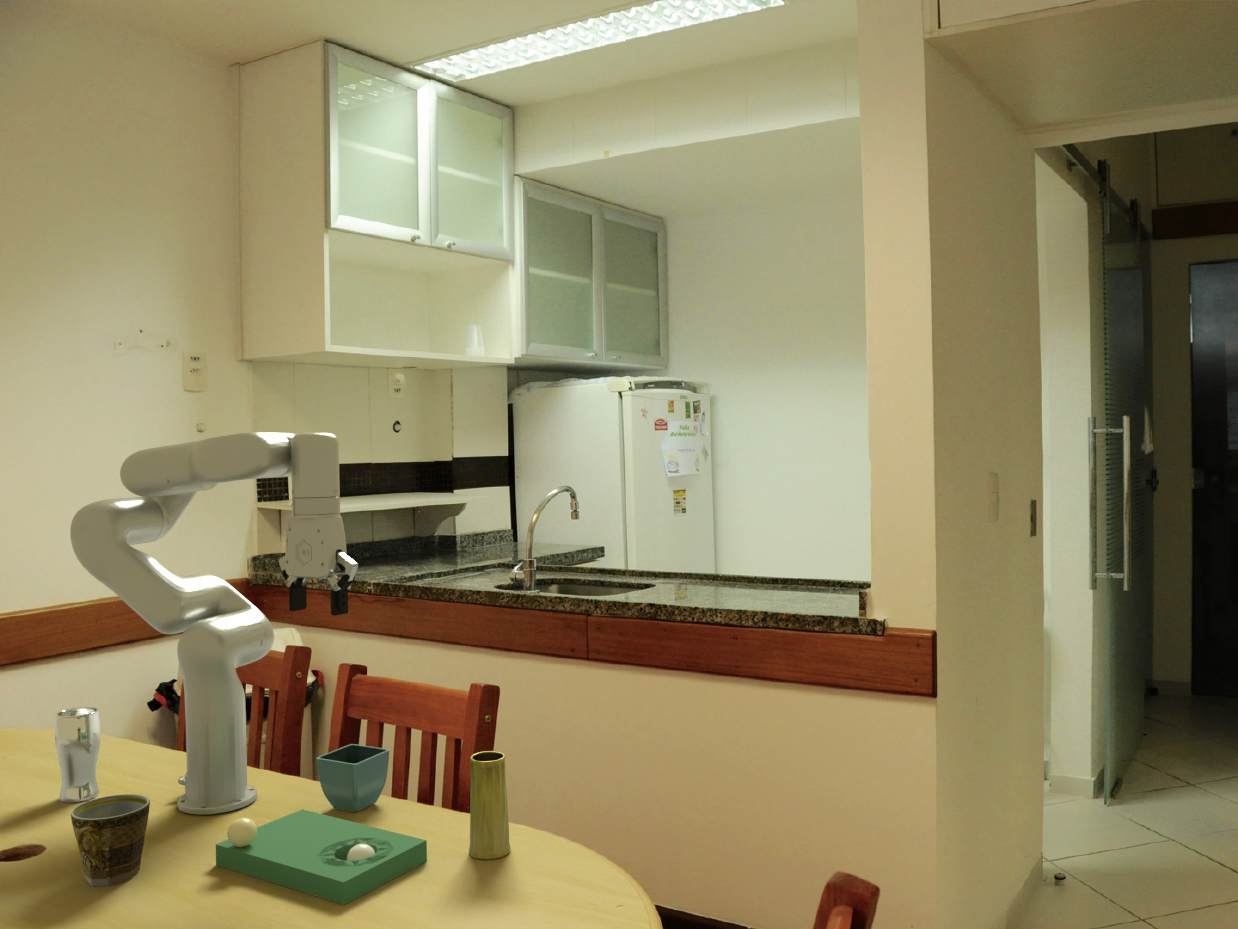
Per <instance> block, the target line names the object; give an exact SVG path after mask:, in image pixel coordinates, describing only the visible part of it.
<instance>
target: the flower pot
mask: <svg viewBox="0 0 1238 929" xmlns="http://www.w3.org/2000/svg"><path fill="white" fill-rule="evenodd" d="M389 759H390V749H389V748H382V747H376V746H370V745H369V746H368V745H362V744H357V743H356V744H354V743H350V744H347V745H344V746H342V747H340V748H337V749H335V750H332V751H330V752H328V753H324V754H322V755H320V756H317V757H315V760H316V766H317V772H318V777H319V783H320V787H321V790H322V792H323V794H324V797H325V798H326V800H327V801H328V802H329V804H330V805H331V806H332V807H333V808H334V809H336V810H343V811H347V812H353V813H357V812H359V811H361V810H363V809H365V808H368V807H370V806H372V805H373V804H376V802H377V801H379V798H380V796H381V794H382V792H383V790H384V788H385V786H386V785H385V784H386V781H387V777H388V771H389V769H388V768H389Z"/></svg>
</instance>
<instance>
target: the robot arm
mask: <svg viewBox="0 0 1238 929" xmlns="http://www.w3.org/2000/svg"><path fill="white" fill-rule="evenodd" d="M339 447H340V446H339V440H338V437H337V436H336V435H335V434H334V433H331V432H301V433H294V432H282V431H281V432H280V431H279V432H278V431H277V432H276V431H275V432H273V431H270V432H269V431H257V432H255V431H254V432H253V431H252V432H250V431H249V432H239V433H234V434H228V435H221V436H215V437H210V438H204V439H200V440H195V441H188V442H184V443H177V444H169V445H162V446H157V447H156V446H155V447H150V448H149V447H148V448H146V449H141V450H140V449H139V450H138V451H136V452H134V453H132V454H130V455H129V456H127V457H126V458H125V460H124V461H123V462H122V464H121V467H120V472H119V476H120V481H121V483H122V485H123V486H124V487H125V489H126V490H128V492H130V493H132V494H133V495H135V497H121V498H120V497H119V498H108V499H102V500H101V499H100V500H97V501H94V502H90V503H89V504H86V505H85V506H83V507H81V508H80V509H78V510H77V512H76V513H75V514H74V516H73V518H72V519H71V523H70V527H69V530H70V534H69V535H70V536H69V537H70V543H71V545H72V546H71V547H72V549H73V552H74V554H75V556H76V558H77V560H78V562H79V563H80V565H81V566H82V567H83V568H84V569H85V570H86V571H87V572H88V573H89V574H90V575H91V576H92V577H93V578H95V579H96V580H97V581H99V582H100V583H101V584H103V585H104V586H105V587H106V588H108V590H110V591H112V592H113V593H114V594H115V595H116V596H118V597H119V599H121V601H123V602H124V603H125V604H126V605H127V606H128V607H129V608H131V610H132V611H134V613H136V614H137V615H138V616H139V617H140V618H142V619H143V620H144V621H145V622H146V623H147V624H148V625H150V627H152V628H153V629H154V630H156V631H157V632H159V633H161V634H164V635H175V634H180V633H181V635H180V637H179V639H178V641H177V642H178V643H177V650H176V651H177V652H176V653H177V660H178V663H179V667H180V672H181V678H182V682H183V691H184V712H185V713H184V714H185V715H184V716H185V746H186V747H185V748H186V749H185V750H186V772H185V774H184V776H183V775H182V776H180V777H179V778H178V779H177V783H178V784H179V785H180V786H181V785H182V786H184V790H185V791H184V792H185V793H184V794H182V795H181V796H180V797H179V798H178V800H177V809H178V811H180V812H182V813H185V814H190V815H199V816H200V815H203V816H204V815H217V814H223V813H227V812H232V811H236V810H239V809H242V808H244V807H247V806H249V805H250V804H252V803H254V801H255V800H257V797H258V790H257V788H256V787H254V786H253V785H250V784H248V764H247V763H248V759H247V756H248V755H247V752H248V749H247V714H246V713H247V710H246V696H245V695H246V694H245V690H244V688H243V687H244V686H243V684H242V682H241V680H240V678H239V676H238V674H237V670H236V669H237V668H239V667H244V666H246V665H249V664H252V663H254V662H257V661H259V660H261V659H262V658H264V657H265V656H266V655H268V653H269V652H270V651H271V649H272V647H273V645H274V641H275V633H274V628H273V626H272V624H271V622H270V620H269V619H268V618H267V617H266V615H265V614H264V613H263V612H262V610H260V609H259V608H258V607H257V606H256V605H254V604H253V603H252V602H251V601H250V600H249V599H248V598H247V597H245V596H244V595H242V593H240V592H239V591H238V590H237V589H236V588H235V587H233V585H231V584H230V583H229V582H227V581H226V580H225V579H223V578H221V577H218V576H217V575H213V574H209V573H198V574H192V575H191V574H190V575H185V576H184V575H183V576H181V575H177V574H175V573H173V572H171V571H170V570H168V569H167V568H166V567H165V566H163V565H162V564H161V563H160V562H159V561H158V560H157V559H156V558H154V557H153V556H151V555H149V554H148V553H146V552H144V551H141V550H139V549H137V548H135V547H133V545H141V544H149V543H153V542H156V541H159V540H160V539H162V538H164V537H165V536H166V535H168V533H170V531H171V530H172V529H173V528H174V526H175V524H176V523H177V522H178V521H179V519H180V517H182V514H183V513H184V511H186V509H187V508H188V506H189V505H190V503H191V502H192V500H193V499H194V498H195V496H196V494H197V493H198V492H200V491H201V492H202V491H204V492H205V491H209V490H211V489H214V488H215V487H216V486H218V484H221V483H228V482H229V483H230V482H235V481H245V480H257V479H272V478H275V479H276V478H287V477H290V478H291V504H290V505H291V511H292V514H291V516H289V519H288V521H287V522H288V523H287V529H286V537H285V552H284V553H285V555H283V556H282V557H280V558H279V559H278V564H279V567H280V569H281V571H282V572H281V575H282V577H283V579H284V580H285V585H286V587H287V588H288V610H289V611H290V612H296V611H298V612H299V611H301V610H305V609H307V603H308V602H307V601H308V600H307V585H306V584H304V583H305V581H306V580H307V579H311V580H322V579H326V580H327V581H328V583H329V584H330V586H331V587H332V590H330V615H331V616H332V617H336V616H341V615H347V614H348V613H349V589H351V587H352V583H353V582H354V581H355V579H356V577H355V576H356V574H357V571H358V568H359V563H358V562H356V561H355V560H354V559H353V558H351V557H350V556H349V555H347V554H348V553H347V540H346V532H345V527H344V521H343V517H342V516H341V498H340V497H341V496H340V494H341V492H340V491H341V490H340V484H341V483H340V448H339ZM136 496H138V497H136Z"/></svg>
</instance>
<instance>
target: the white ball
mask: <svg viewBox="0 0 1238 929" xmlns="http://www.w3.org/2000/svg"><path fill="white" fill-rule="evenodd" d="M374 854H375V851H374V850H373V848H372V847H371V846H369V845H367V844H358V845H355V846H354V847H352V848H351V850H350V851H349V853H348V855H347V861H356V860H360V859H365V858H368V857H370V856H372V855H374Z"/></svg>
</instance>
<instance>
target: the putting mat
mask: <svg viewBox="0 0 1238 929" xmlns="http://www.w3.org/2000/svg"><path fill="white" fill-rule="evenodd" d="M256 827H257V834H256V837H255V839H254V840H253V842H252V843H251V844H249V845H247V846H245V847H236V846H234V845H232V844H231V843H230V841H229V840H228V839H226V840H222V841H221V842H218V843H216V844H215V866H218V867H221V868H225V869H228V870H232V871H234V872H238V873H241V874H245V875H247V876H250V877H254V878H255V879H256V878H257V879H260V880H263V881H266V882H269V883H273V884H276V885H278V886H283V887H285V888H289V889H291V890H292V889H293V890H296V891H299V892H301V893H305V894H308V895H312V896H315V897H318V898H320V899H324V900H327V901H330V902H334V903H337V904H340V905H343V906H345V905H347V904H349V903H350V902H352V901H354V900H356V899H359V898H360V897H363V895H365V894H367V893H370V892H371V891H373V890H375V889H377V888H378V887H381V886H382V885H384V884H386V883H388V882H390V881H392V880H394V879H395V878H398V877H399V876H401V875H403V874H405V873H407V872H409V871H410V870H413V869H414V868H416V867H417V866H421V865H422V864H423V863H425V862H428V853H427V852H428V851H427V849H428V847H427V843H428V841H427V840H426V839H423V838H420V837H414V836H411V835H406V834H402V833H398V832H396V831H390V830H388V829H387V830H386V829H383V828H379V827H375V826H371V825H367V824H363V823H358V822H355V821H350V820H347V819H344V818H343V819H342V818H339V817H335V816H331V815H326V814H323V813H319V812H315V811H311V810H308V809H299V810H297V811H294V812H292V813H290V814H288V815H285V816H282V817H280V818H278V819H275V820H272V821H269V822H268V823H265V824H263V825H262V824H261V825H260V826H256ZM358 844H367V845H369V846H371V847H372V848H373V850H374V851H375V854H374V855H372V856H370V857H368V858H365V859H360V860H356V861H347V855H348V853H349V851H350V850H351V848H352V847H354V846H355V845H358Z"/></svg>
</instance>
